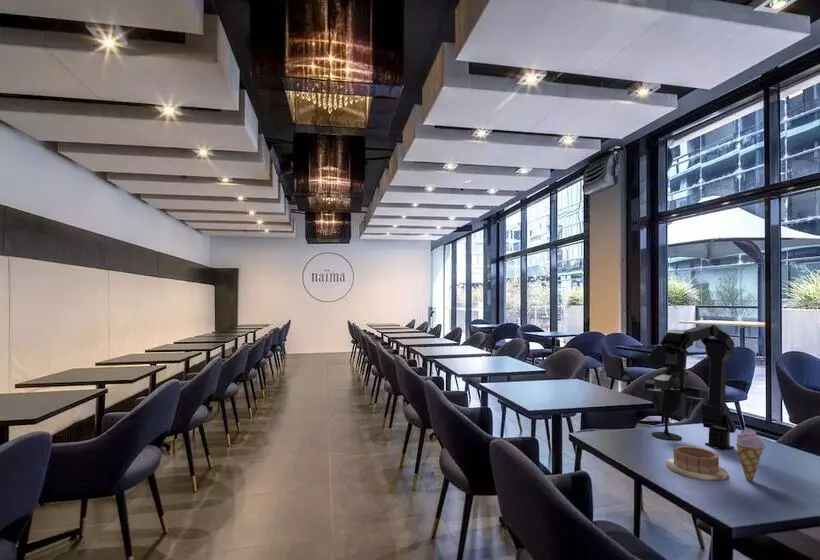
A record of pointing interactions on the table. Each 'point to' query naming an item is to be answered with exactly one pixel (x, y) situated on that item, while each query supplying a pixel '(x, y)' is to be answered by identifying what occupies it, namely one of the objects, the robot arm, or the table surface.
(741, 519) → the table surface
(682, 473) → the cone stand
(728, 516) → the table surface
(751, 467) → the ice cream cone
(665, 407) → the wine glass
